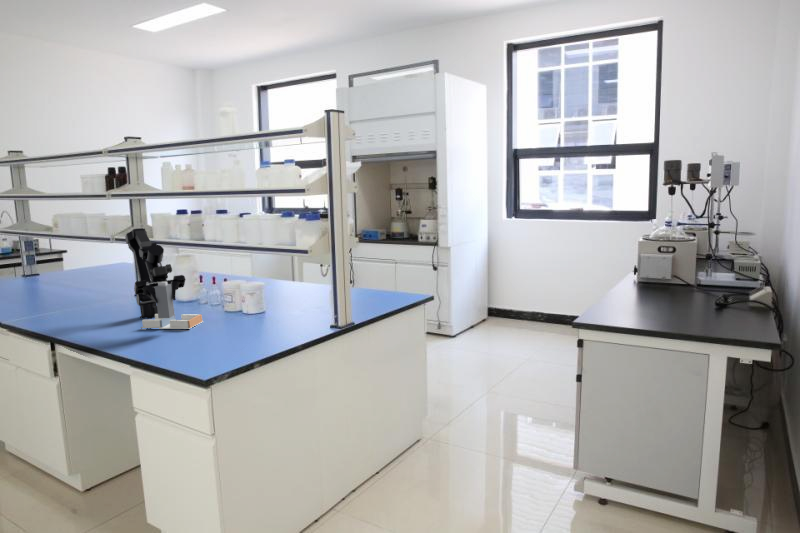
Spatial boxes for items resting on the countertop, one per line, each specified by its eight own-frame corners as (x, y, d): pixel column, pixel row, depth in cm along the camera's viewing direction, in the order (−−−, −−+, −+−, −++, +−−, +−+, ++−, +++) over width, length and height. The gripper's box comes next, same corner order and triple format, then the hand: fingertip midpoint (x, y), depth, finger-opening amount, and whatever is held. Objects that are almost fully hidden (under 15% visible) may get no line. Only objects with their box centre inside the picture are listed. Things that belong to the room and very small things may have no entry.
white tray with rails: (141, 329, 221) (139, 320, 221) (157, 321, 232) (156, 313, 231) (189, 330, 218) (188, 321, 217) (203, 322, 228) (202, 314, 227)
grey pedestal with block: (158, 318, 212) (154, 283, 209) (163, 315, 216) (159, 281, 213) (169, 318, 212) (165, 283, 209) (174, 314, 216) (170, 280, 213)
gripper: (132, 261, 207) (142, 294, 201) (181, 255, 218) (192, 286, 212) (130, 278, 215) (139, 309, 208) (178, 271, 226) (188, 301, 219)
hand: (165, 301), depth 212 cm, fingers closed on grey pedestal with block, 6 cm apart
